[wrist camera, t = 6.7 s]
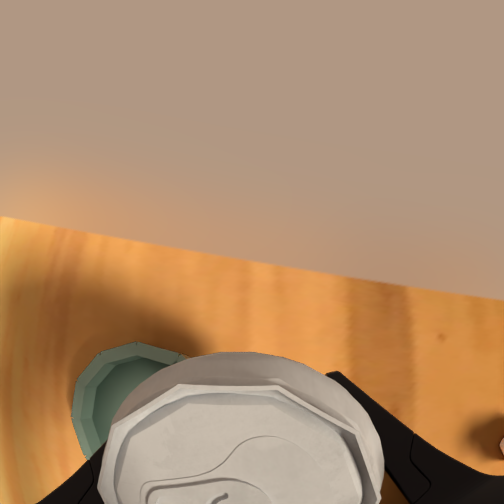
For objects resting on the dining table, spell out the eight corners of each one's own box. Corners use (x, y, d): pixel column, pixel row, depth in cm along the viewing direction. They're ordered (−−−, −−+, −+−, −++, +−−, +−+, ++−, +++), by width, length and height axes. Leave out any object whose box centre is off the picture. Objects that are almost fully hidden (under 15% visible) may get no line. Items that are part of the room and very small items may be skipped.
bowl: (170, 514, 15) (159, 527, 12) (69, 410, 19) (50, 412, 16) (271, 422, 19) (272, 430, 16) (150, 316, 22) (136, 309, 20)
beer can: (316, 431, 13) (427, 545, 2) (231, 458, 12) (152, 604, 1) (286, 353, 14) (345, 291, 4) (202, 380, 14) (41, 381, 3)
